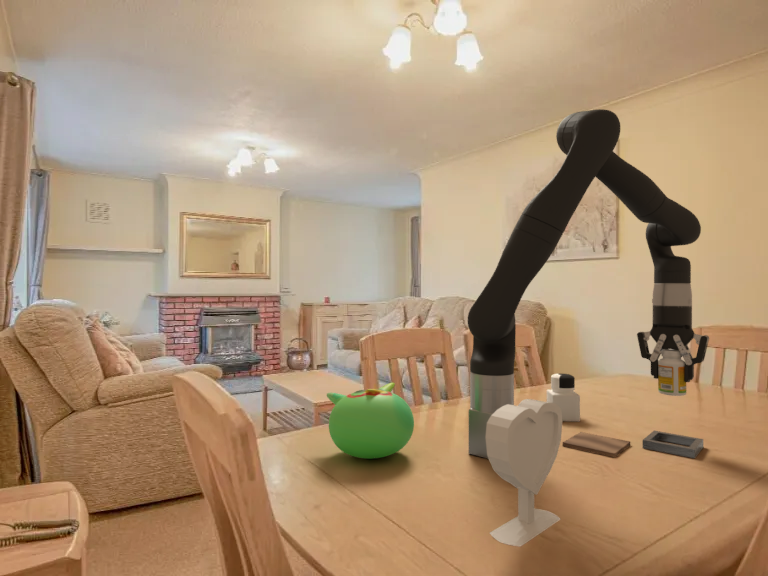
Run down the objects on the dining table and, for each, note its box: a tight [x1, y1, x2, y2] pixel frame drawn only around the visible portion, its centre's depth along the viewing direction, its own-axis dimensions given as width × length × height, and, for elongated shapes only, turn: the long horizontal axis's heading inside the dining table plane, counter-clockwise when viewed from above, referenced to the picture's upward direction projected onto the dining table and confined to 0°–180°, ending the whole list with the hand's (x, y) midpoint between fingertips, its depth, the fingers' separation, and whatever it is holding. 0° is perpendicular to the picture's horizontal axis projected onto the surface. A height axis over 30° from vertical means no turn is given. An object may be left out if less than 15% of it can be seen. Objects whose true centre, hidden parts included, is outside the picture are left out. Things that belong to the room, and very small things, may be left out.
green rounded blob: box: [326, 382, 415, 460], centre depth 101 cm, size 18×17×15 cm
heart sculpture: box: [485, 398, 563, 547], centre depth 70 cm, size 16×5×18 cm, turn 133°
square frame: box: [642, 430, 704, 459], centre depth 105 cm, size 10×10×2 cm
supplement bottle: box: [657, 349, 687, 397], centre depth 106 cm, size 5×5×10 cm
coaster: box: [562, 431, 631, 458], centre depth 107 cm, size 11×11×1 cm
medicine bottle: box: [546, 372, 581, 423], centre depth 130 cm, size 7×7×12 cm
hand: (671, 379), depth 106 cm, fingers closed on supplement bottle, 5 cm apart
